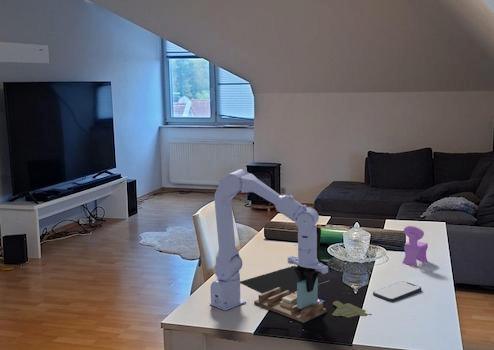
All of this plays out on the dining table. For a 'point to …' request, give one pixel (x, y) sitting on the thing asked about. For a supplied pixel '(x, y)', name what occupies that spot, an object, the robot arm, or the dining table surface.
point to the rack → (273, 303)
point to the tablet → (278, 281)
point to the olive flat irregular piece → (348, 310)
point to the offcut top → (290, 299)
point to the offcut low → (287, 304)
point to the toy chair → (414, 246)
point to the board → (306, 294)
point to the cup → (318, 240)
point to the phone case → (397, 291)
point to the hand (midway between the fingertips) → (307, 290)
